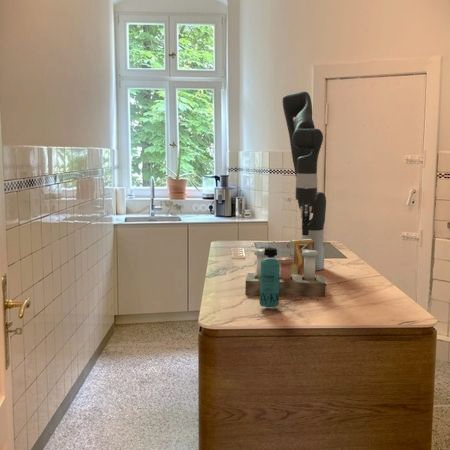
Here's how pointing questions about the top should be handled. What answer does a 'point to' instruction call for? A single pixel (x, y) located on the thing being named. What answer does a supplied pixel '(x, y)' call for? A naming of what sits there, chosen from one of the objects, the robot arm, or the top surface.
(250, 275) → the walnut socket board
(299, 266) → the candy box
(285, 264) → the brown mushroom peg
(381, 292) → the top surface
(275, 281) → the beverage bottle
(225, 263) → the top surface
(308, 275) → the grey plug
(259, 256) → the grey plug
